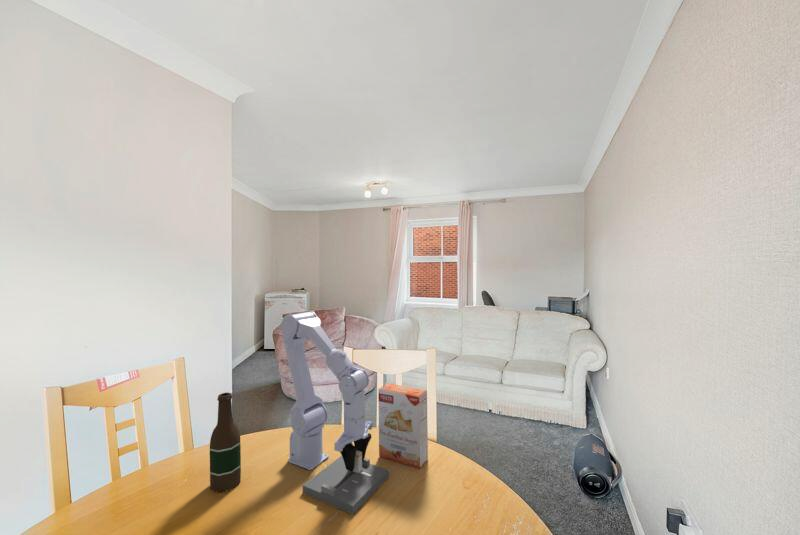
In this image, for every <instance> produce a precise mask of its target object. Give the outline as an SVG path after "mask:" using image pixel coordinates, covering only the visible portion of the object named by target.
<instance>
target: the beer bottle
mask: <svg viewBox="0 0 800 535" xmlns="http://www.w3.org/2000/svg"><path fill="white" fill-rule="evenodd" d="M232 399H233V393H231V392H222V393H220V394H219V395H218V396H217V401H218V402H217V403H218V406H217V407H218V408H217V422H216V425H215V427H214V428H213V430H212V434H211V435H210V440H209V484H210V485H209V486H210V487H209V488H210V491H212V490H214V491H213V492H215V491H217V492H216V493H219V492H220V493H224V492H227V491H226V490H228V491H231V490H230V489H232V488H233V489H234V488H235V486H236V485H237V486H238V485H239V483H241V474H242V465H241V464H242V462H241V461H242V460H241V459H242V458H241V457H242V456H241V451H242V450H241V448H242V446H241V445H242V444H241V430H240V428H239V426H238V425H237V423H236V422H235V421H234V417H233V404H232ZM237 486H236V487H237ZM233 489H232V490H233ZM223 491H224V492H223Z"/></svg>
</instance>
